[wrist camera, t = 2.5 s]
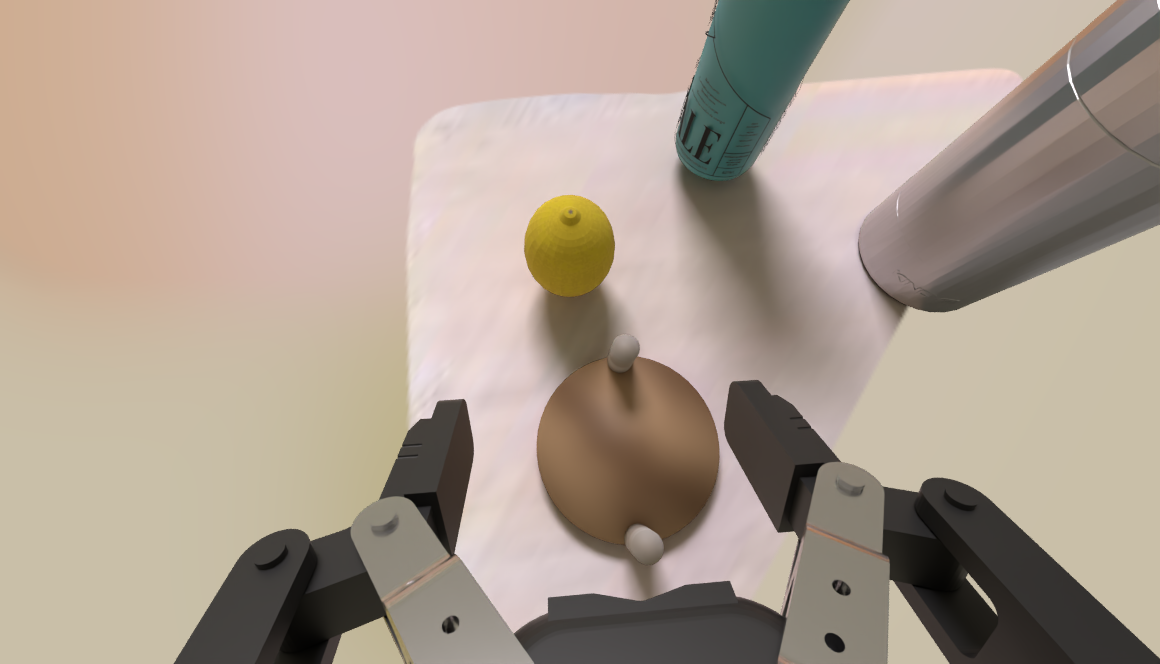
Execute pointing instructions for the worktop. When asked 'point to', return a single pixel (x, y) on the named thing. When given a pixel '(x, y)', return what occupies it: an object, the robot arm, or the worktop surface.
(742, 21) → the beverage bottle
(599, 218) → the lemon
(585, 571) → the worktop surface
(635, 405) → the pin dish
